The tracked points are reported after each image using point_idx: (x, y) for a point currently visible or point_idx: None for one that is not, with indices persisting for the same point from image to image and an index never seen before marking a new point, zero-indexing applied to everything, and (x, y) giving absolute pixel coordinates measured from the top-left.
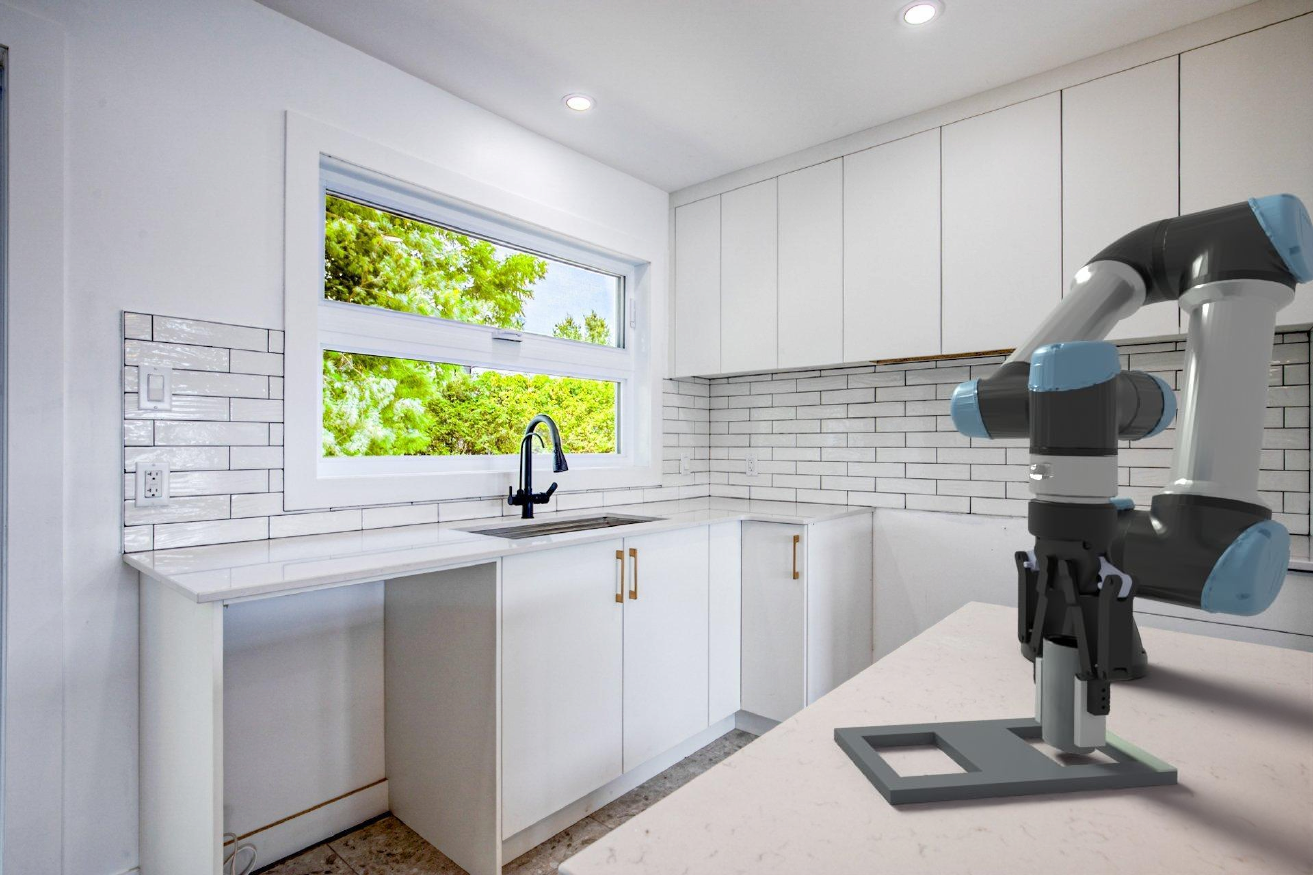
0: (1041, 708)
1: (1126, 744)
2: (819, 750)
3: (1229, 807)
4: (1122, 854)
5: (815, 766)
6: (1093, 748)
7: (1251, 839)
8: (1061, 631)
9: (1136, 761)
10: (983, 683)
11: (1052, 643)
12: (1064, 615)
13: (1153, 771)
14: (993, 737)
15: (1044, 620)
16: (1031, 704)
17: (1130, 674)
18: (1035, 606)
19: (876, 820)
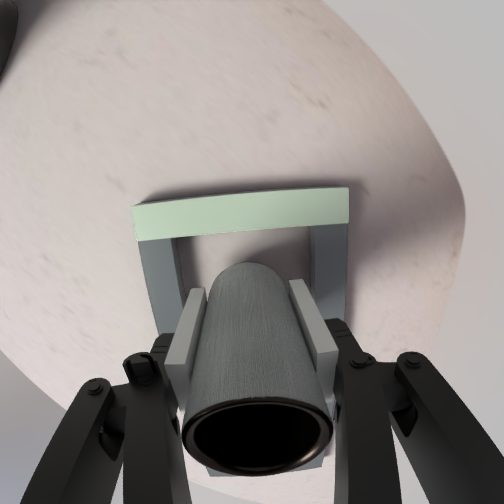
0: None
1: (262, 204)
2: (231, 476)
3: (394, 169)
4: (422, 347)
5: (258, 480)
6: (282, 281)
7: (440, 210)
8: (165, 430)
9: (314, 229)
10: (11, 257)
11: (274, 474)
12: (170, 483)
13: (344, 227)
14: None
15: (190, 499)
16: (65, 228)
17: (426, 361)
18: (94, 491)
19: (334, 463)
